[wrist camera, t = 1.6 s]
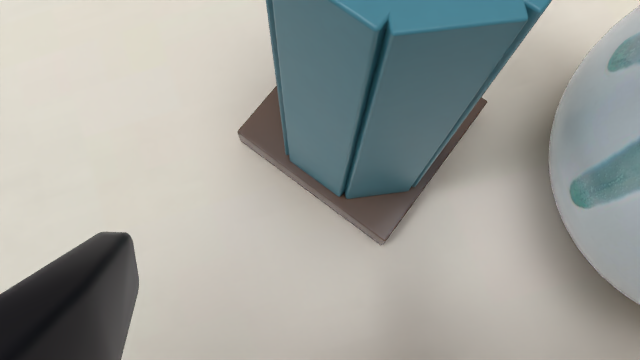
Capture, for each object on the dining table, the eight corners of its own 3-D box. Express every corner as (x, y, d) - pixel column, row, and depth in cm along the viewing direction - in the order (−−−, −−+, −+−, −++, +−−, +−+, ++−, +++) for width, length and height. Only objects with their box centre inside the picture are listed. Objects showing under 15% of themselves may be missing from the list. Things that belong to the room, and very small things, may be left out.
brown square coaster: (381, 245, 22) (405, 217, 16) (239, 140, 23) (218, 81, 17) (480, 110, 23) (531, 44, 18) (343, 17, 24) (353, -72, 19)
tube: (383, 230, 21) (477, 99, 9) (247, 130, 22) (178, -104, 10) (477, 102, 22) (663, -152, 10) (346, 13, 23) (385, -310, 11)
